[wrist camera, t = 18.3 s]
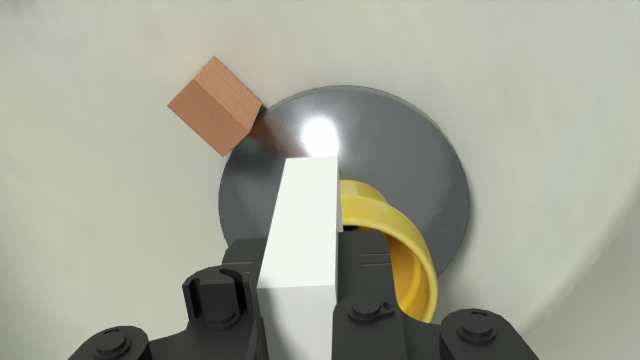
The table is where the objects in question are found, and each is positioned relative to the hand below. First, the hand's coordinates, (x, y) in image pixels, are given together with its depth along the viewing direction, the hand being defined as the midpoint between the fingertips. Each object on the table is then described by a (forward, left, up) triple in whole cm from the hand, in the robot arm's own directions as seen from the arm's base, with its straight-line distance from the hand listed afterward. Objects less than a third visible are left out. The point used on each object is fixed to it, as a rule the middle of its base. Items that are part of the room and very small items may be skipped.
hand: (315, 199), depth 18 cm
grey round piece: (-2, -10, -24) cm, 26 cm away
